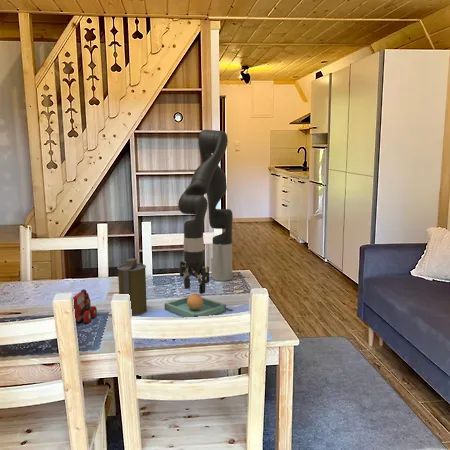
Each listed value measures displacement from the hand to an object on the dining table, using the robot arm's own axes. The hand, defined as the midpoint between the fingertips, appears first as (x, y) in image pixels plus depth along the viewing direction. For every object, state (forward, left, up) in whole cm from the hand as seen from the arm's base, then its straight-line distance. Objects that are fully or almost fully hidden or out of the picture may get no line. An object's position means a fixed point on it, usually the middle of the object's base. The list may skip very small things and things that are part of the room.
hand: (194, 290), depth 165 cm
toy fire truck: (-22, -34, -8) cm, 41 cm away
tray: (0, 0, -8) cm, 8 cm away
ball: (0, 0, -4) cm, 4 cm away
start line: (+1, +9, -8) cm, 12 cm away
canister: (-16, -17, -8) cm, 25 cm away
